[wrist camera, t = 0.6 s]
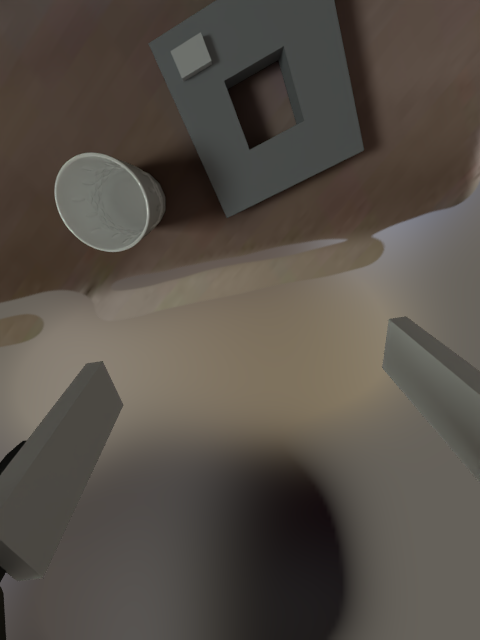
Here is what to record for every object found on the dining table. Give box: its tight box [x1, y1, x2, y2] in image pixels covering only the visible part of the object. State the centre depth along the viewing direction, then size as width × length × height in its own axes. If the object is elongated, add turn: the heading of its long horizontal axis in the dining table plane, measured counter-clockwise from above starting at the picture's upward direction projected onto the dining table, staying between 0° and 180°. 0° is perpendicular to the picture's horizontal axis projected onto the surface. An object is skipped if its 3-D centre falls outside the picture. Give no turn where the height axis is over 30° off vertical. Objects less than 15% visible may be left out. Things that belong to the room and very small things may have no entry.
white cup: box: [55, 153, 165, 252], centre depth 27 cm, size 8×8×10 cm
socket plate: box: [149, 0, 364, 218], centre depth 27 cm, size 16×16×4 cm
